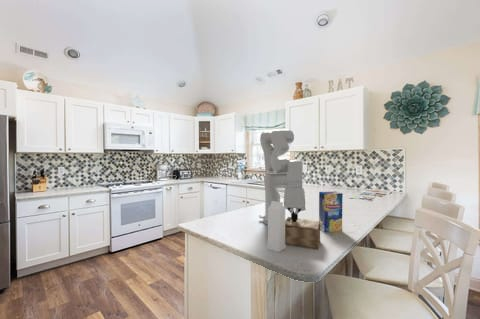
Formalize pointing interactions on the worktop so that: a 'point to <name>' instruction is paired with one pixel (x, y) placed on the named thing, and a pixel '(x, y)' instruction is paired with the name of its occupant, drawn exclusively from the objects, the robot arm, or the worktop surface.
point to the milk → (276, 226)
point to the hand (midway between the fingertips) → (294, 221)
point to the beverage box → (330, 211)
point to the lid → (303, 223)
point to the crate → (302, 237)
